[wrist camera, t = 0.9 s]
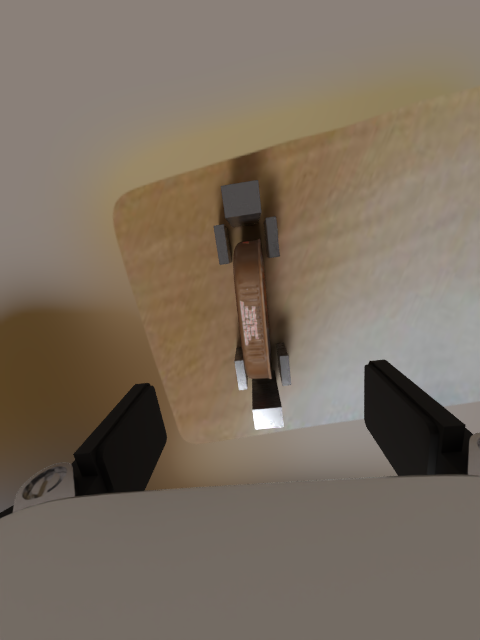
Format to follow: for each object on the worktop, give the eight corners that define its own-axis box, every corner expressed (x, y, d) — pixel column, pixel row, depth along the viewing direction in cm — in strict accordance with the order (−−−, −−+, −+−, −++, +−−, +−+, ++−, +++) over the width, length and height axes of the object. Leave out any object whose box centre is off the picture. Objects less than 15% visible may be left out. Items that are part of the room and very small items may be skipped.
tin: (271, 358, 32) (278, 394, 24) (247, 360, 32) (246, 397, 24) (261, 240, 28) (266, 235, 20) (234, 243, 28) (228, 240, 20)
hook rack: (270, 198, 27) (278, 176, 19) (287, 384, 33) (299, 425, 25) (215, 206, 27) (201, 189, 19) (242, 389, 33) (240, 430, 26)
